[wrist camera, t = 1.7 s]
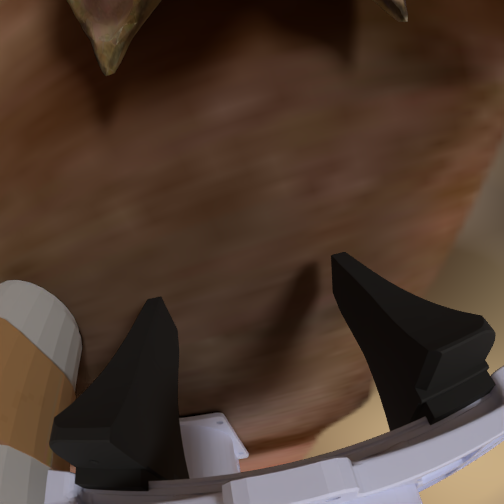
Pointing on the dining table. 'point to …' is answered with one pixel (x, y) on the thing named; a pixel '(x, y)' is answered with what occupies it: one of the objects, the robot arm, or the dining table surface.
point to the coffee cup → (33, 386)
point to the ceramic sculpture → (133, 17)
